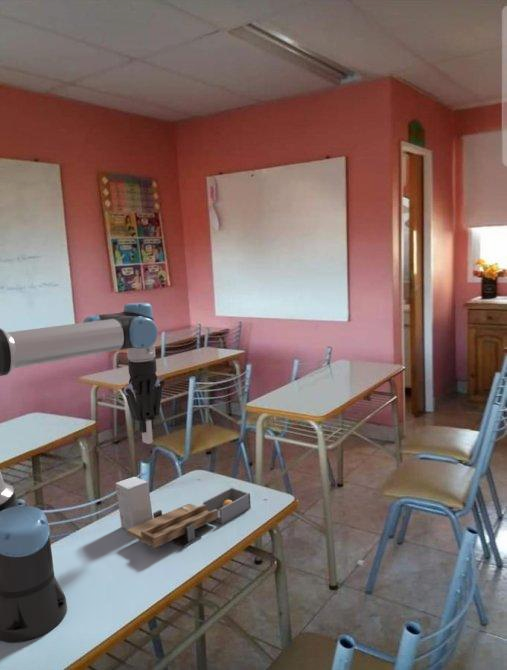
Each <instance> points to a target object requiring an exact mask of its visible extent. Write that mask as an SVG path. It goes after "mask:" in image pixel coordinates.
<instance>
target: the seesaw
mask: <svg viewBox="0 0 507 670" xmlns="http://www.w3.org/2000/svg"><path fill="white" fill-rule="evenodd" d="M217 518H218V510H217V509H214V510H212V511H210V512H209V511H207V510H206V505H203V504H202V505H200V506H198V505H195V504H193V503H187V504H185V505H183V506H180V507H178V508H175V509H173V510H170V511H168V512H166V513H164V514H163V513H162V515H161V516H158V517H156V518H154V517H153V519H151V520H149V521H146V522H144V523H142V524H139V525H137V526H134V527H132V528H130V529H126V534H127V535H129V536H131V537H133V538H135V539H137V540H139V541H141V542H143V543H145V544H147V545H149V546H151V547H153V548H158V547H159V546H161V545H164V544H166V543H168V542H171V541H170V540H173V539H175V538H177V537H179V536H181V535H183V534H185V533H186V531H185V527H187V526H189V525H191V524H194V530H196V529H198V528H201V527H202V526H204V525H205V526H206V525H207V524H209V523H211V522H213V520H215V519H217Z"/></svg>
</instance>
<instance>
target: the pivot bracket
mask: <svg viewBox="0 0 507 670" xmlns="http://www.w3.org/2000/svg"><path fill="white" fill-rule="evenodd" d="M152 515H153V519H154V518H156V517H158V516H161V515H163V511H162V509H159V510H157V511H155V512H152ZM195 530H196V529H194V524H191V525H189V526H187V527H185V531H186V533H185V534H183V535H181V536H179V537H177V538H175V539H173V540H170V541H169V542H171V543H174V544H176V545H178V546H180V547H182V548H186V547H188V546H189V545H192V544H193V543H196V542H197V541H199V540H200V539H202V535H200V534H198V533H196V532H195Z"/></svg>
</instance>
